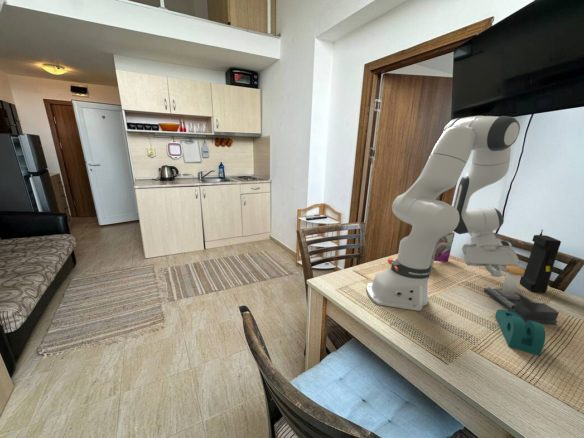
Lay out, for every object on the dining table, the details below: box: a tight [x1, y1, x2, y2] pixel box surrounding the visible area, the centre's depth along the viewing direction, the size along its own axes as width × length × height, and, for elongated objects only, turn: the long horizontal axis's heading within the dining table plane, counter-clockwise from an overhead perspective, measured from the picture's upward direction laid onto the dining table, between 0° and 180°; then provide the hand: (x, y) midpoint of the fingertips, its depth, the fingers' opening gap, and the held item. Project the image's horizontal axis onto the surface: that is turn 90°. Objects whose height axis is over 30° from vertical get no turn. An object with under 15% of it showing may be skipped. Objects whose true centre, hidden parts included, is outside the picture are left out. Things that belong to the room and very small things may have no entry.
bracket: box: [494, 308, 546, 357], centre depth 75 cm, size 18×7×8 cm, turn 152°
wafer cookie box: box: [434, 231, 456, 263], centre depth 125 cm, size 11×5×16 cm, turn 77°
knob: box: [495, 265, 526, 300], centre depth 91 cm, size 5×5×12 cm
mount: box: [483, 286, 560, 326], centre depth 88 cm, size 19×10×5 cm, turn 177°
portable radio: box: [519, 229, 562, 294], centre depth 98 cm, size 8×6×25 cm
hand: (497, 276), depth 98 cm, fingers closed
